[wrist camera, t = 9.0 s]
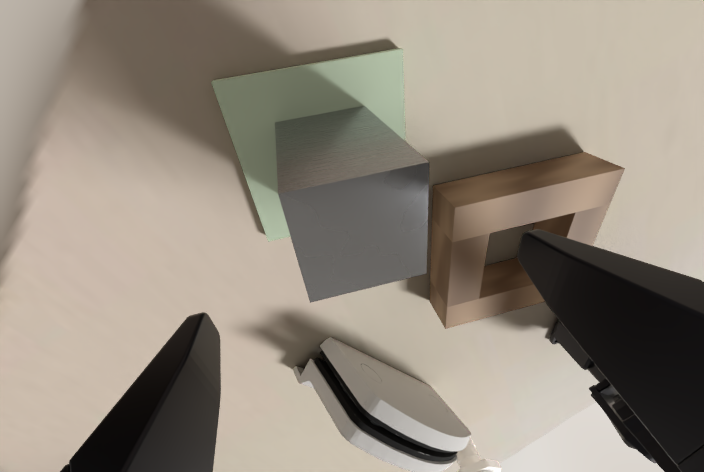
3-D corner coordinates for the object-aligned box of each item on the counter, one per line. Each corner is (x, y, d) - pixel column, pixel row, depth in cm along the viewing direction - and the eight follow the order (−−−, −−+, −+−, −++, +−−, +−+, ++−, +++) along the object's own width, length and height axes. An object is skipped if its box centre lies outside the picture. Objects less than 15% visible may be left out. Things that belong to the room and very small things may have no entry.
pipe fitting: (457, 453, 49) (485, 518, 42) (430, 448, 45) (456, 518, 39) (488, 433, 47) (523, 498, 40) (463, 425, 43) (497, 496, 37)
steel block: (364, 105, 16) (429, 162, 9) (372, 186, 18) (426, 273, 12) (274, 122, 15) (278, 193, 9) (295, 202, 18) (310, 302, 12)
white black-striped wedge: (289, 368, 28) (333, 475, 19) (321, 325, 28) (379, 412, 19) (399, 409, 36) (462, 495, 28) (423, 376, 37) (493, 452, 28)
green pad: (398, 48, 15) (402, 48, 15) (404, 205, 20) (407, 209, 20) (213, 80, 14) (211, 82, 14) (268, 236, 20) (268, 241, 19)
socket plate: (584, 151, 21) (624, 168, 19) (545, 270, 28) (572, 294, 25) (432, 185, 20) (455, 207, 18) (429, 300, 27) (445, 328, 24)
